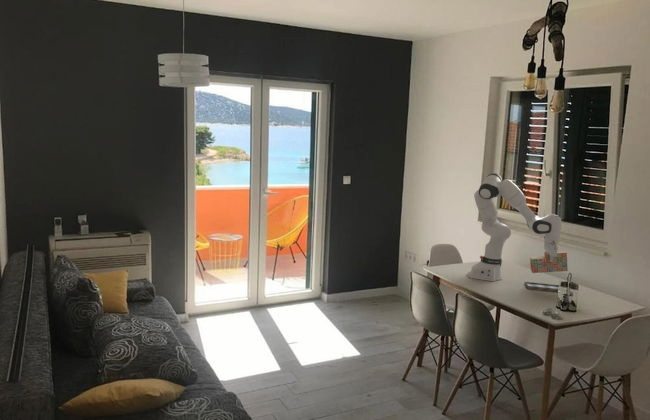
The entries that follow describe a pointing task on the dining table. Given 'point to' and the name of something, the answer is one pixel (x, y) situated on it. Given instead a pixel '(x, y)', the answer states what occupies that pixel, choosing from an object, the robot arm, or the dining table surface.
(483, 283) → the dining table surface
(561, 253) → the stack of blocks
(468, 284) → the dining table surface
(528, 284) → the grey flat slab
